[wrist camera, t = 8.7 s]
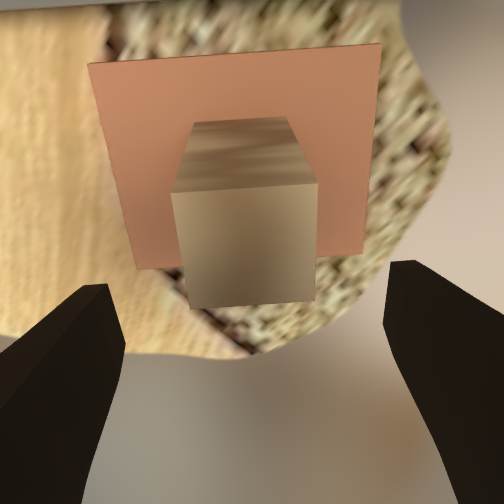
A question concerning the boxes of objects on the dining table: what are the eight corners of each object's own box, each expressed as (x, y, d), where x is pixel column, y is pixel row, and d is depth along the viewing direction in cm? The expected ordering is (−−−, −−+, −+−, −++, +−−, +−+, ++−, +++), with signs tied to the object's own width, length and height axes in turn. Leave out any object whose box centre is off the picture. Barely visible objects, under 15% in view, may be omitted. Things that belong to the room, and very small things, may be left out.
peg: (285, 116, 18) (318, 183, 11) (286, 200, 20) (314, 300, 13) (194, 122, 18) (170, 193, 11) (204, 205, 20) (190, 309, 13)
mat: (378, 43, 17) (381, 44, 17) (360, 250, 22) (362, 254, 22) (89, 63, 17) (86, 64, 17) (138, 265, 22) (136, 269, 22)
